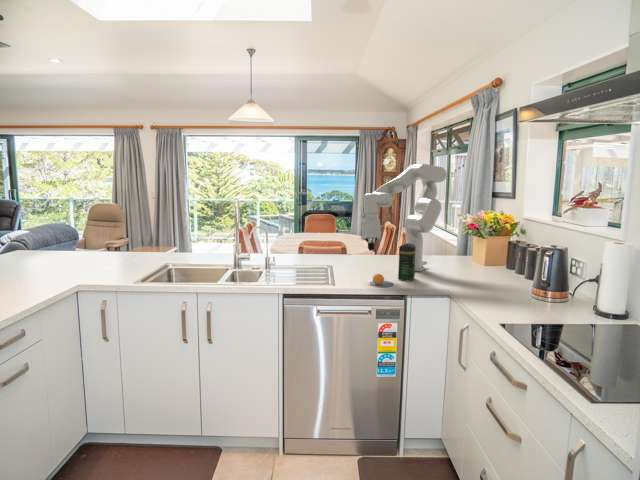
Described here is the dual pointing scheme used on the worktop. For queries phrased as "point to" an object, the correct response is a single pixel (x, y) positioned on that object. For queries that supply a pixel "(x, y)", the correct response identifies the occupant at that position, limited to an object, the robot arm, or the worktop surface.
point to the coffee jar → (406, 262)
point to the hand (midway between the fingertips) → (370, 250)
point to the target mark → (383, 284)
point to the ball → (378, 279)
